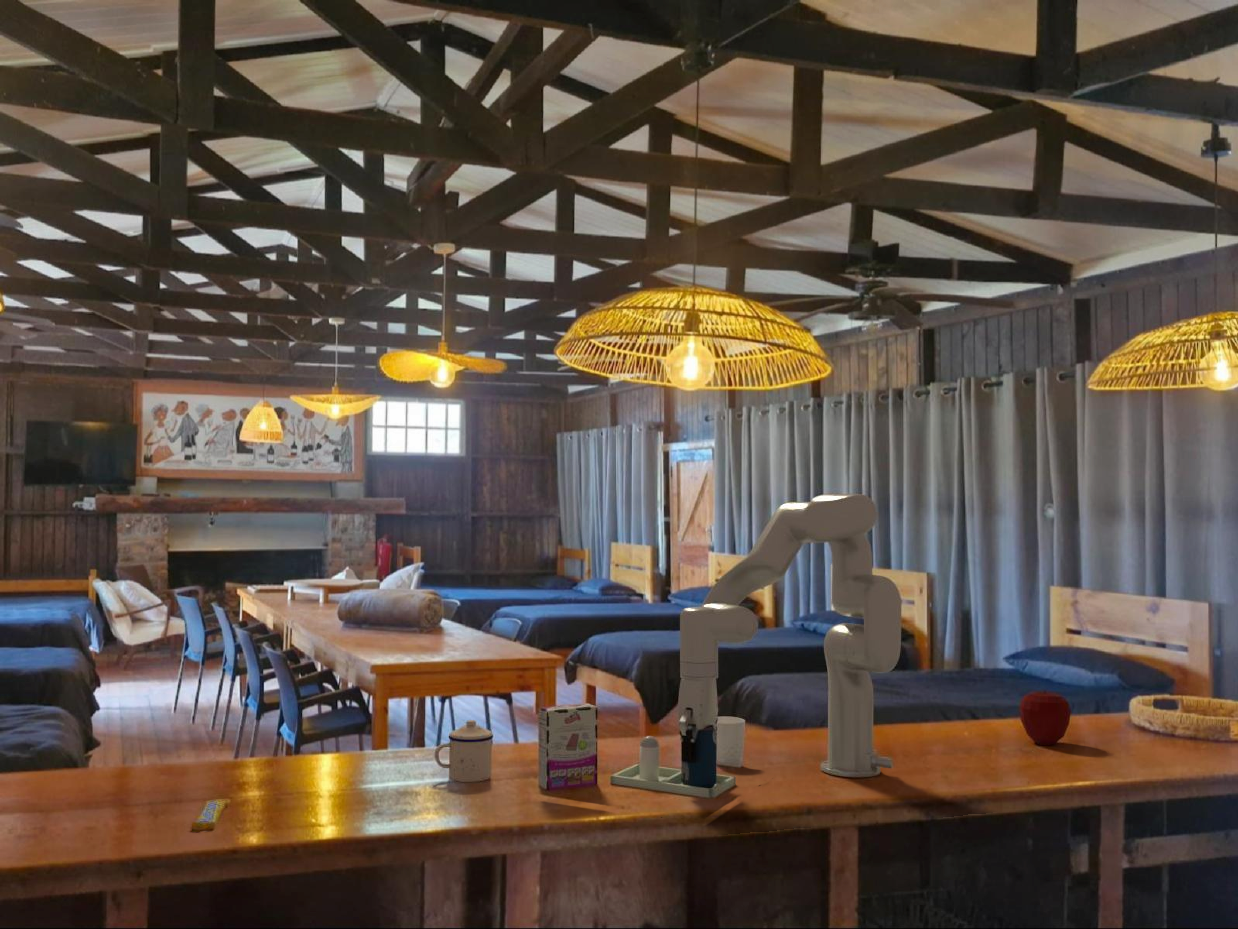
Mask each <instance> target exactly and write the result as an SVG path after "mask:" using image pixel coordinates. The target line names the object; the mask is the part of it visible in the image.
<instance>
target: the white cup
mask: <svg viewBox="0 0 1238 929" xmlns="http://www.w3.org/2000/svg"><path fill="white" fill-rule="evenodd" d="M717 719H718V720H717V724H716V725H717V765H716V766H725V767H732V768H742V767H743V756H744V747H745V746H744V744H745V730H746V729H745V728H746V720H745V719H743V718H741V717H735V716H725V715H724V716H723V715H722V716H717Z"/></svg>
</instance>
